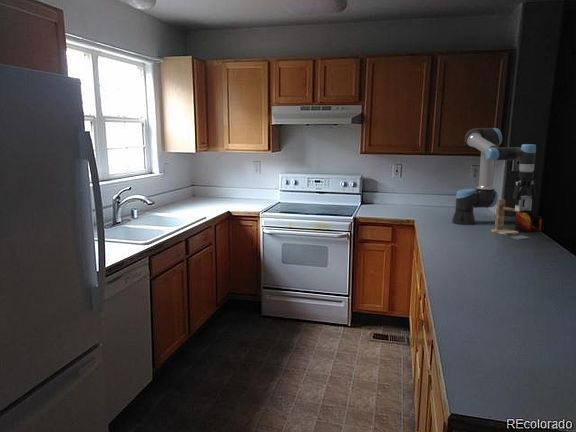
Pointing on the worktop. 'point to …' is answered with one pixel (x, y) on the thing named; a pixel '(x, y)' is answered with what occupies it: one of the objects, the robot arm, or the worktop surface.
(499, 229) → the stand
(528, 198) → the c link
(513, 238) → the pad
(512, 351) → the worktop surface
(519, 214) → the mug
